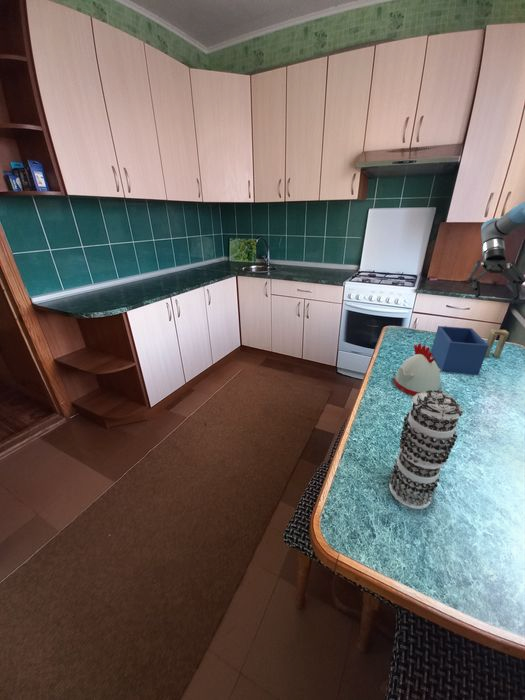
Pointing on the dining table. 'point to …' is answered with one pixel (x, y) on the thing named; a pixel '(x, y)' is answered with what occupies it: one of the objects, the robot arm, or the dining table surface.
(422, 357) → the kitchen timer
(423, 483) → the decorative candle
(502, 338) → the wood clip
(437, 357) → the blue bin
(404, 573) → the dining table surface
